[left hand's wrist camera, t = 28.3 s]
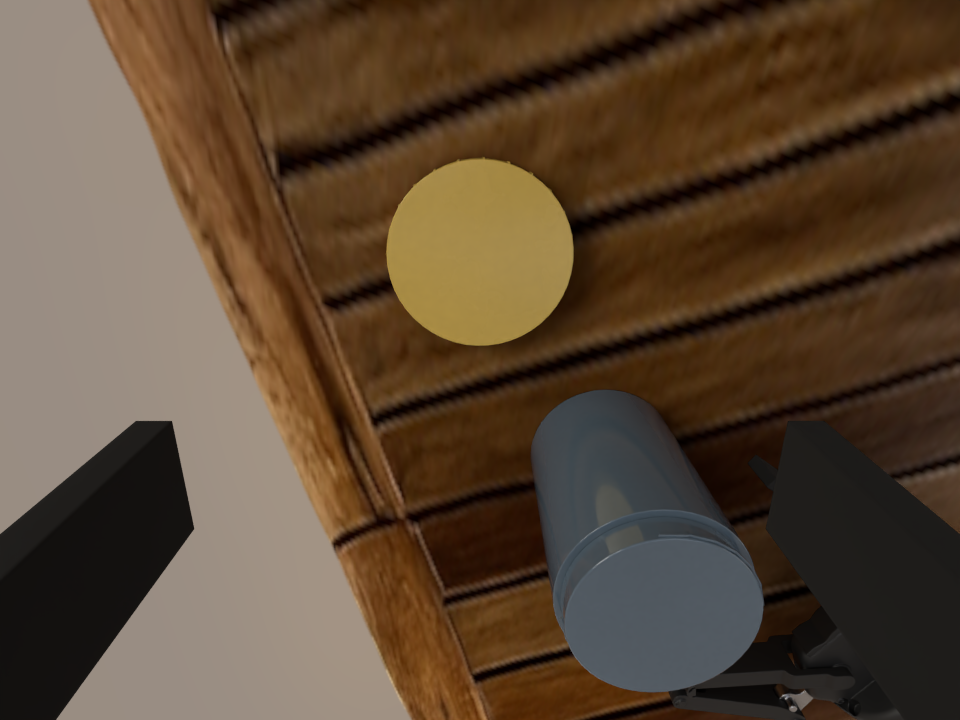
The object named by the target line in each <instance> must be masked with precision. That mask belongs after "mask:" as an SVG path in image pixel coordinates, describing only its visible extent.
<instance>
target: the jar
mask: <svg viewBox="0 0 960 720" xmlns="http://www.w3.org/2000/svg"><path fill="white" fill-rule="evenodd" d="M531 465H532V471H533V478H534V484H535V491H536V497H537V503H538V510H539V516H540V523H541V529H542V536H543V542H544V548H545V555H546V561H547V568H548V574H549V581H550V587H551V593H552V600H553V606H554V611H555V615H556V618H557V621H558V623H559V625H560V627H561V629H562V630H563V632H564V635H565V639H566V641H567V642H568V644H569V647H570V649H571V651H572V653H573V654H574V656H575V657H576V659H577V660H578V661H579V662H580V664H581V665H582V666H583V667H584V668H585V669H587V670H588V671H589V672H590V673H591V674H593V675H594V676H596V677H597V678H599V679H601V680H603V681H605V682H607V683H609V684H611V685H614V686H617V687H620V688H624V689H628V690H633V691H640V692H667V691H674V690H680V689H684V688H688V687H691V686H694V685H697V684H700V683H703V682H705V681H707V680H709V679H711V678H713V677H715V676H717V675H718V674H720V673H722V672H724V671H725V670H726V669H728V668H729V667H730V666H732V665H733V664H734V663H735V662H736V661H737V660H738V659H740V658H741V657H742V655H743V654H744V653H745V652H746V651H747V650H748V648H749V647H750V645H751V644H752V642H753V641H754V639H755V637H756V635H757V633H758V631H759V628H760V625H761V621H762V616H763V606H764V599H763V592H762V584H761V582H760V580H759V578H758V576H757V574H756V573H755V569H754V565H753V561H752V559H751V557H750V554H749V552H748V550H747V549H746V547H745V546H744V544H743V542H742V541H741V539H740V538H739V536H738V535H737V533H736V532H735V530H734V528H733V527H732V525H731V524H730V522H729V521H728V519H727V518H726V516H725V514H724V513H723V511H722V510H721V508H720V507H719V505H718V504H717V502H716V500H715V499H714V497H713V496H712V494H711V493H710V491H709V490H708V488H707V486H706V485H705V483H704V482H703V480H702V479H701V477H700V476H699V474H698V472H697V471H696V469H695V468H694V466H693V465H692V463H691V462H690V460H689V458H688V457H687V455H686V454H685V452H684V451H683V449H682V448H681V446H680V444H679V443H678V441H677V440H676V438H675V437H674V435H673V434H672V432H671V430H670V429H669V427H668V426H667V424H666V423H665V421H664V420H663V418H662V416H661V415H660V414H659V413H658V412H657V410H656V409H655V408H654V407H652V406H651V405H650V404H649V403H647V402H646V401H644V400H643V399H641V398H639V397H637V396H635V395H632V394H629V393H626V392H622V391H616V390H595V391H590V392H585V393H582V394H579V395H576V396H574V397H572V398H569V399H568V400H566V401H564V402H563V403H561V404H559V405H558V406H557V407H556V408H554V409H553V410H552V411H551V412H550V413H549V414H548V415H547V416H546V417H545V419H544V420H543V421H542V422H541V424H540V426H539V427H538V429H537V431H536V434H535V436H534V439H533V442H532V447H531Z"/></svg>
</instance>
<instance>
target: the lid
mask: <svg viewBox="0 0 960 720" xmlns="http://www.w3.org/2000/svg"><path fill="white" fill-rule="evenodd" d="M413 186H414V187H413V188H412V189H411V190H410V191H409V193H408V194H407V195H406V196H405V198H404V199H403V201H402V202H401V203H400V204H399V205H398V206H399V207H398V209H397V211H396V213H395V215H394V217H393V220H392V223H391V226H390V227H389V234H388V240H387V252H386V254H387V265H388V270H389V275H390V279H391V282H392V285H393V287H394V290H395V292H396V294H397V296H398V298H399V300H400V301H401V303H402V304H403V306H404V307H405V309H406V310H407V311H408V312H409V313H410V314H411V316H412V317H413V318H414V319H415V320H416V321H417V322H419V323H420V324H421V325H422V326H423V327H425V328H426V329H428V330H429V331H431V332H432V333H434V334H436V335H438V336H440V337H442V338H444V339H447V340H450V341H452V342H456V343H460V344H465V345H475V346H485V345H494V344H500V343H504V342H508V341H511V340H513V339H516V338H518V337H521V336H523V335H524V334H526V333H528V332H530V331H531V330H533V329H534V328H535V327H537V326H538V325H539V324H541V323H542V322H543V321H544V320H545V319H546V318H547V317H548V316H549V315H550V314H551V313H552V311H553V310H554V309H555V308H556V306H557V305H558V303H559V302H560V300H561V298H562V297H563V295H564V292H565V290H566V288H567V286H568V283H569V280H570V276H571V272H572V266H573V260H574V259H573V255H574V247H573V238H572V236H573V234H572V233H571V229H570V225H569V222H568V219H567V217H566V214H565V210H563V208H562V207H561V205H560V203H559V201H558V200H557V199H556V197H555V196H554V195H553V193H552V190H551V189H550V188H547V187H546V186H545V185H544V184H543V183H542V182H541V181H540V180H538V179H537V178H536V177H534V176H533V173H532V172H527V171H526V170H524V169H522V168H520V167H518V166H516V165H513V164H511V163H510V162H509V161H507V162H505V161H501V160H497V159H489V158H485V157H483V158H470V159H464V160H460V159H458V160H457V161H456V162H452V163H449V164H447V165H444V166H442V167H440V168H438V169H437V168H435V169H434V171H433V172H432V173H430V174H428V175H427V176H426V177H424V178H423V179H422V180H421V181H420V182H418V183H415V184H414V185H413Z"/></svg>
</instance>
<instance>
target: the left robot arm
mask: <svg viewBox="0 0 960 720" xmlns="http://www.w3.org/2000/svg"><path fill="white" fill-rule="evenodd" d="M193 530H194V525H193V521H192V516H191V511H190V506H189V501H188V496H187V492H186V487H185V482H184V477H183V472H182V468H181V463H180V458H179V453H178V448H177V443H176V438H175V434H174V429H173V424H172V421H136V422H134V423H133V424H132V425H131V426H130V427H128V428H127V429H126V430H125V431H124V432H122V433H121V434H120V435H119V436H117V437H116V438H115V439H114V440H113V441H111V442H110V443H109V444H108V445H107V446H106V447H104V448H103V449H102V450H101V451H100V452H98V453H97V454H96V455H95V456H94V457H92V458H91V459H90V460H89V461H88V462H86V463H85V464H84V465H83V466H82V467H80V468H79V469H78V470H77V471H76V472H74V473H73V474H72V475H71V476H70V477H68V478H67V479H66V480H65V481H64V482H62V483H61V484H60V485H59V486H58V487H56V488H55V489H54V490H53V491H52V492H50V493H49V494H48V495H47V496H46V497H44V498H43V499H42V500H41V501H40V502H38V503H37V504H36V505H35V506H34V507H32V508H31V509H30V510H29V511H28V512H26V513H25V514H24V515H23V516H22V517H20V518H19V519H18V520H17V521H16V522H14V523H13V524H12V525H11V526H10V527H8V528H7V529H6V530H5V531H4V532H2V533H1V534H0V720H56V719H57V718H58V716H59V715H60V713H61V712H62V711H63V709H64V708H65V707H66V705H67V704H68V702H69V701H70V700H71V698H72V697H73V696H74V694H75V693H76V691H77V690H78V689H79V687H80V686H81V684H82V683H83V682H84V680H85V679H86V678H87V676H88V675H89V673H90V672H91V671H92V669H93V668H94V666H95V665H96V664H97V662H98V661H99V660H100V658H101V657H102V655H103V654H104V653H105V651H106V650H107V649H108V647H109V646H110V644H111V643H112V642H113V640H114V639H115V638H116V636H117V635H118V633H119V632H120V631H121V629H122V628H123V626H124V625H125V624H126V622H127V621H128V620H129V618H130V617H131V615H132V614H133V613H134V611H135V610H136V609H137V607H138V606H139V604H140V603H141V601H142V600H143V599H144V597H145V596H146V595H147V593H148V592H149V591H150V589H151V588H152V586H153V585H154V584H155V582H156V581H157V580H158V578H159V577H160V575H161V574H162V573H163V571H164V570H165V568H166V567H167V566H168V564H169V563H170V562H171V560H172V559H173V557H174V556H175V555H176V553H177V552H178V551H179V549H180V548H181V546H182V545H183V544H184V542H185V541H186V540H187V538H188V537H189V535H190V534H191V533H192V531H193ZM766 530H767V531H768V533H769V534H770V535H771V537H772V538H773V540H774V541H775V542H776V544H777V545H778V546H779V548H780V549H781V551H782V552H783V553H784V555H785V556H786V557H787V559H788V560H789V562H790V563H791V564H792V566H793V567H794V568H795V570H796V571H797V573H798V574H799V575H800V577H801V578H802V580H803V581H804V582H805V584H806V585H807V586H808V588H809V589H810V591H811V592H812V593H813V595H814V596H815V597H816V599H817V600H818V602H819V603H820V604H821V606H822V607H823V609H824V610H825V611H826V613H827V614H828V615H829V617H830V618H831V620H832V621H833V622H834V624H835V625H836V626H837V628H838V629H839V631H840V632H841V633H842V635H843V636H844V638H845V639H846V640H847V642H848V643H849V644H850V646H851V647H852V649H853V650H854V651H855V653H856V654H857V655H858V657H859V658H860V660H861V661H862V662H863V664H864V665H865V667H866V668H867V669H868V671H869V672H870V673H871V675H872V676H873V678H874V679H875V680H876V682H877V683H878V684H879V686H880V687H881V689H882V690H883V691H884V693H885V694H886V696H887V697H888V698H889V700H890V701H891V702H892V704H893V705H894V707H895V708H896V709H897V711H898V712H899V713H900V715H901V716H902V718H903V719H904V720H960V534H959V533H958V532H956V531H955V530H954V529H953V528H952V527H950V526H949V525H948V524H947V523H946V522H944V521H943V520H942V519H941V518H940V517H938V516H937V515H936V514H935V513H934V512H932V511H931V510H930V509H929V508H928V507H926V506H925V505H924V504H923V503H922V502H920V501H919V500H918V499H917V498H916V497H914V496H913V495H912V494H911V493H910V492H908V491H907V490H906V489H905V488H904V487H902V486H901V485H900V484H899V483H898V482H896V481H895V480H894V479H893V478H892V477H890V476H889V475H888V474H887V473H886V472H884V471H883V470H882V469H881V468H880V467H878V466H877V465H876V464H875V463H874V462H872V461H871V460H870V459H869V458H868V457H866V456H865V455H864V454H863V453H862V452H860V451H859V450H858V449H857V448H856V447H854V446H853V445H852V444H851V443H850V442H848V441H847V440H846V439H845V438H844V437H843V436H841V435H840V434H839V433H838V432H837V431H835V430H834V429H833V428H832V427H831V426H829V425H828V424H827V423H826V422H825V421H788V424H787V429H786V434H785V438H784V443H783V448H782V453H781V458H780V463H779V467H778V472H777V477H776V482H775V487H774V492H773V496H772V501H771V506H770V511H769V516H768V521H767V525H766Z"/></svg>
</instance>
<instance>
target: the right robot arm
mask: <svg viewBox="0 0 960 720" xmlns="http://www.w3.org/2000/svg"><path fill="white" fill-rule="evenodd" d="M748 464H749V466H750V467H751V468H752V469H753V471H754V472H755V473H756V474H757V475H758V477H759V478H760V479H761V480H762V482H763V483H764V484H765V485H766V486H767V487H768V488H769V489H770V490H772V491H773V492H774V487H775V482H776V477H777V472H778V470H777V469H776V468H774V467H773V466H771V465H770V464H769V463H767V462H766V461H764V460H763V459H761V458H760V457H759V456H757V455H755V456H754V457H753V458H752V459H751V460H750V461H749V462H748ZM792 633H793V635H778V636H770V637H769V639H768V641H767V642H759V643H752V644H751V645H750V647H749V648H748V650H747V651H746V652H745V653H744V654H743V655H742V657H741V658H740V659H738V660H737V661H736V662H735V663H734V664H733V665H732V666H730V667H729V668H728V669H726V670H725V671H724V672H722V673H720V674H718V675H717V676H715V677H713V678H711V679H709V680H707V681H705V682H703V683H700V684H697V685H694V686H691V687H688V688H684V689H680V690H674V691H669V694H670V697H671V700H672V703H673V705H674V706H675V707H676V708H681V709H690V710H699V711H708V712H716V713H725V714H734V715H743V716H752V717H760V718H769V719H774V720H806V719H805V717H804V715H803V714H802V712H801V710H802V709H803V708H804V707H805V706H806V705H807V704H808V703H809V702H810V701H811V700H812V699H813V698H815V699H818V700H828V701H831V702H833V703H835V704H836V705H837V706H839V707H840V708H841V709H842V710H844V711H845V712H846V713H848V714H849V715H851V716H852V717H854V718H855V719H857V720H904V719H903V718H902V716H901V715H900V713H899V712H898V711H897V709H896V708H895V707H894V705H893V704H892V702H891V701H890V700H889V698H888V697H887V696H886V694H885V693H884V691H883V690H882V689H881V687H880V686H879V684H878V683H877V682H876V680H875V679H874V678H873V676H872V675H871V673H870V672H869V671H868V669H867V668H866V667H865V665H864V664H863V662H862V661H861V660H860V658H859V657H858V655H857V654H856V653H855V651H854V650H853V649H852V647H851V646H850V644H849V643H848V642H847V640H846V639H845V638H844V636H843V635H842V633H841V632H840V631H839V629H838V628H837V626H836V625H835V624H834V622H833V621H832V620H831V618H830V617H829V615H828V614H827V613H826V611H825V610H824V609H823V607H822V606H821V607H820V608H819V609H817V610H816V612H815V613H814V614H813V616H812V617H811V618H810V619H809V620H807V621H806V622H804V623H802V624H800V625H799V626H798V627H797V628H795V629H794V630H793V631H792ZM787 653H793V658H794V663H795V666H794V664H793V663H792V661H791V659H790V658H789V656H788V654H787Z"/></svg>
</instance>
